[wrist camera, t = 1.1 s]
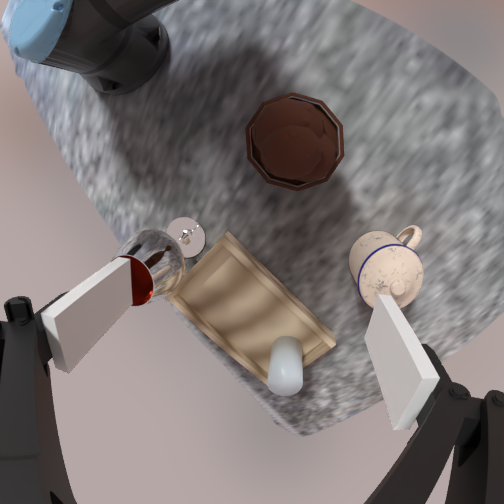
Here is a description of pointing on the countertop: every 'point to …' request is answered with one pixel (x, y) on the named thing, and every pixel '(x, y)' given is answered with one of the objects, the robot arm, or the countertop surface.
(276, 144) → the ice cream bowl
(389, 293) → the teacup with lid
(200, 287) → the tray
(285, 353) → the white rounded capsule
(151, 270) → the wineglass
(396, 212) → the countertop surface
